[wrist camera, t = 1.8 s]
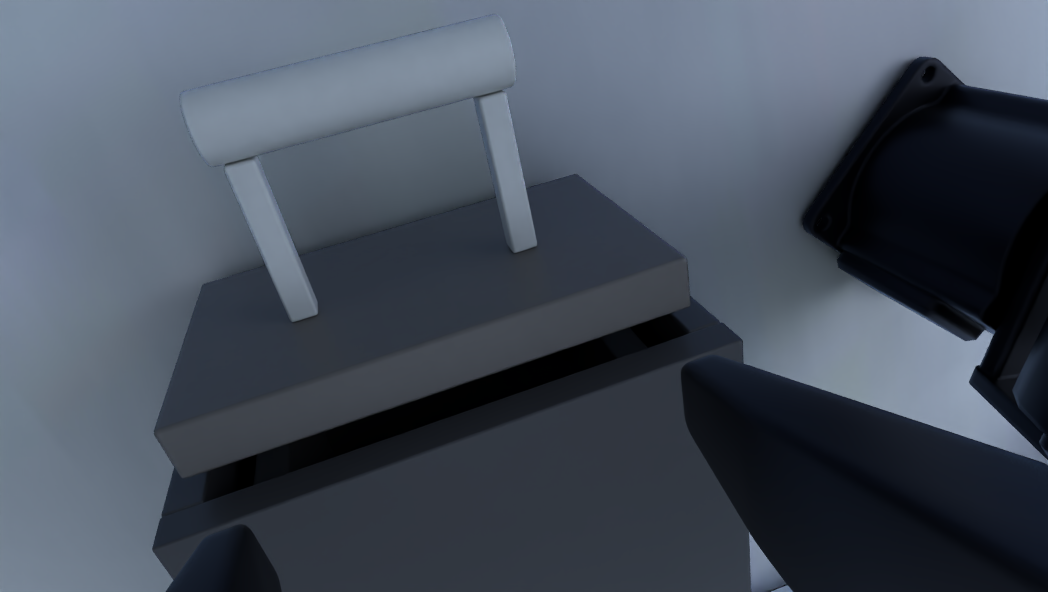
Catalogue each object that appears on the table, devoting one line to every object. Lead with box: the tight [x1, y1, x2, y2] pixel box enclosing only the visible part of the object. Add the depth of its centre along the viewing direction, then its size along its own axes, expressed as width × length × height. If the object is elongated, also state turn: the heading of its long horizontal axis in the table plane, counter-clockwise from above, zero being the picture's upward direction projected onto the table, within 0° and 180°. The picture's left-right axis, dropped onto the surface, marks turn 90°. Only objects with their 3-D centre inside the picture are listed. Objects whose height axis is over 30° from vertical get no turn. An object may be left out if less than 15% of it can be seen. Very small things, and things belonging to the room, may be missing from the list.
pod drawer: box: [154, 14, 691, 485], centre depth 17 cm, size 17×10×6 cm, turn 11°
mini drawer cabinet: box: [152, 296, 751, 592], centre depth 19 cm, size 14×12×8 cm
